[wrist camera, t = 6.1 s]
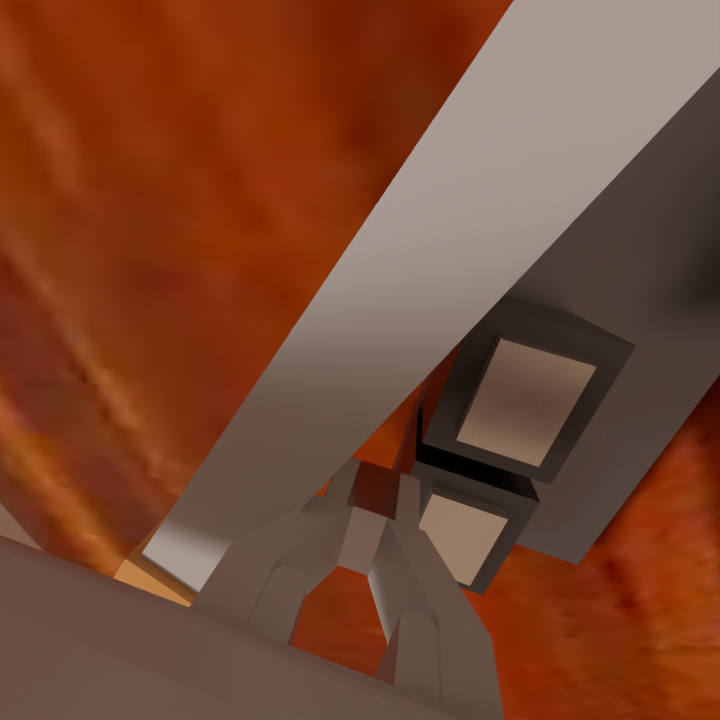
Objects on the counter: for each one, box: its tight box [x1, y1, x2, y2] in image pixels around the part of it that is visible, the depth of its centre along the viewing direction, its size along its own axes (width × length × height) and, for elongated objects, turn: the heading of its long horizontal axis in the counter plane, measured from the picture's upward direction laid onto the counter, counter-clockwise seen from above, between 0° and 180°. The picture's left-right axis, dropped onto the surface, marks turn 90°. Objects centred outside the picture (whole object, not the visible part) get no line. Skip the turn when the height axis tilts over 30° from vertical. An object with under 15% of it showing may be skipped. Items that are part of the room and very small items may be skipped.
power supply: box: [422, 295, 636, 485], centre depth 11 cm, size 5×4×4 cm
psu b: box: [395, 410, 540, 595], centre depth 13 cm, size 5×4×4 cm
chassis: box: [392, 67, 720, 565], centre depth 9 cm, size 24×9×6 cm, turn 166°
